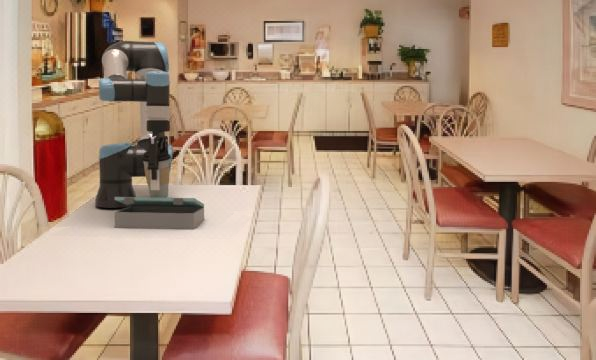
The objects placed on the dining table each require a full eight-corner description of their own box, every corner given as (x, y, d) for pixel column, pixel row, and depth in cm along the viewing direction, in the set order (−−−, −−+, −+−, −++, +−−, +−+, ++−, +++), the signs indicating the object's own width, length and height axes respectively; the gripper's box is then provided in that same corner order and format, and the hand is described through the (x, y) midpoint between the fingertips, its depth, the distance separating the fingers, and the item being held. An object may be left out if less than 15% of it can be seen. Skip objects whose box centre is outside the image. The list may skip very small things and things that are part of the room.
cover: (129, 209, 214) (130, 203, 215) (203, 211, 213) (204, 204, 213) (113, 203, 199) (113, 196, 199) (193, 204, 197) (193, 197, 197)
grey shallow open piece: (130, 220, 215) (130, 206, 215) (204, 221, 213) (204, 207, 213) (114, 227, 200) (114, 212, 200) (194, 229, 198) (194, 213, 198)
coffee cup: (146, 202, 200) (142, 156, 196) (143, 194, 209) (139, 151, 205) (175, 198, 203) (172, 154, 199) (171, 191, 212) (168, 148, 208)
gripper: (156, 119, 213) (157, 184, 215) (136, 119, 192) (137, 191, 194) (178, 119, 212) (178, 185, 215) (160, 119, 191) (161, 192, 193)
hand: (159, 188), depth 204 cm, fingers closed on coffee cup, 9 cm apart
